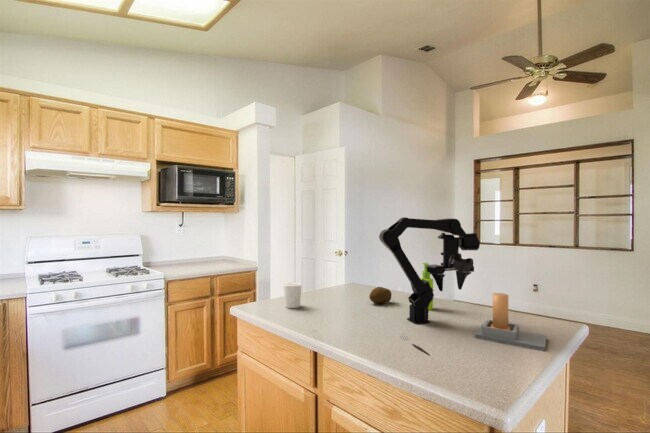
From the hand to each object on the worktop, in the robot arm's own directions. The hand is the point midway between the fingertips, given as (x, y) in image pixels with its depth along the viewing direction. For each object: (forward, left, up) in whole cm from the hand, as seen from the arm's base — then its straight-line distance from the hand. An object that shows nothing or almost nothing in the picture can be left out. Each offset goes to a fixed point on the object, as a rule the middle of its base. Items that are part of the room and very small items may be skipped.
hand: (450, 290), depth 135 cm
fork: (-29, -17, -13) cm, 36 cm away
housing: (+6, -22, -12) cm, 26 cm away
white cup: (-52, +42, -12) cm, 68 cm away
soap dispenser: (+3, +19, -12) cm, 23 cm away
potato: (-12, +33, -12) cm, 37 cm away
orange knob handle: (+4, -20, -11) cm, 23 cm away
